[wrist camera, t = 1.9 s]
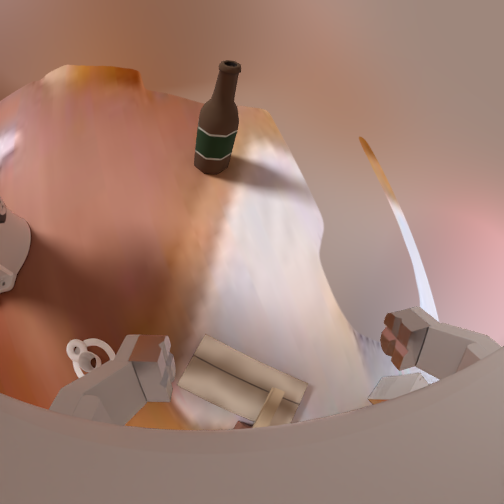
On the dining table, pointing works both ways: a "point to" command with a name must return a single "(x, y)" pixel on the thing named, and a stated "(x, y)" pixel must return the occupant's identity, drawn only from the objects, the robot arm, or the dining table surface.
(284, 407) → the ash board
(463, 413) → the robot arm
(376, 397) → the small box
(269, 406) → the block
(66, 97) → the dining table surface
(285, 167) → the dining table surface
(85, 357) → the white curved piece
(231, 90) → the beer bottle
